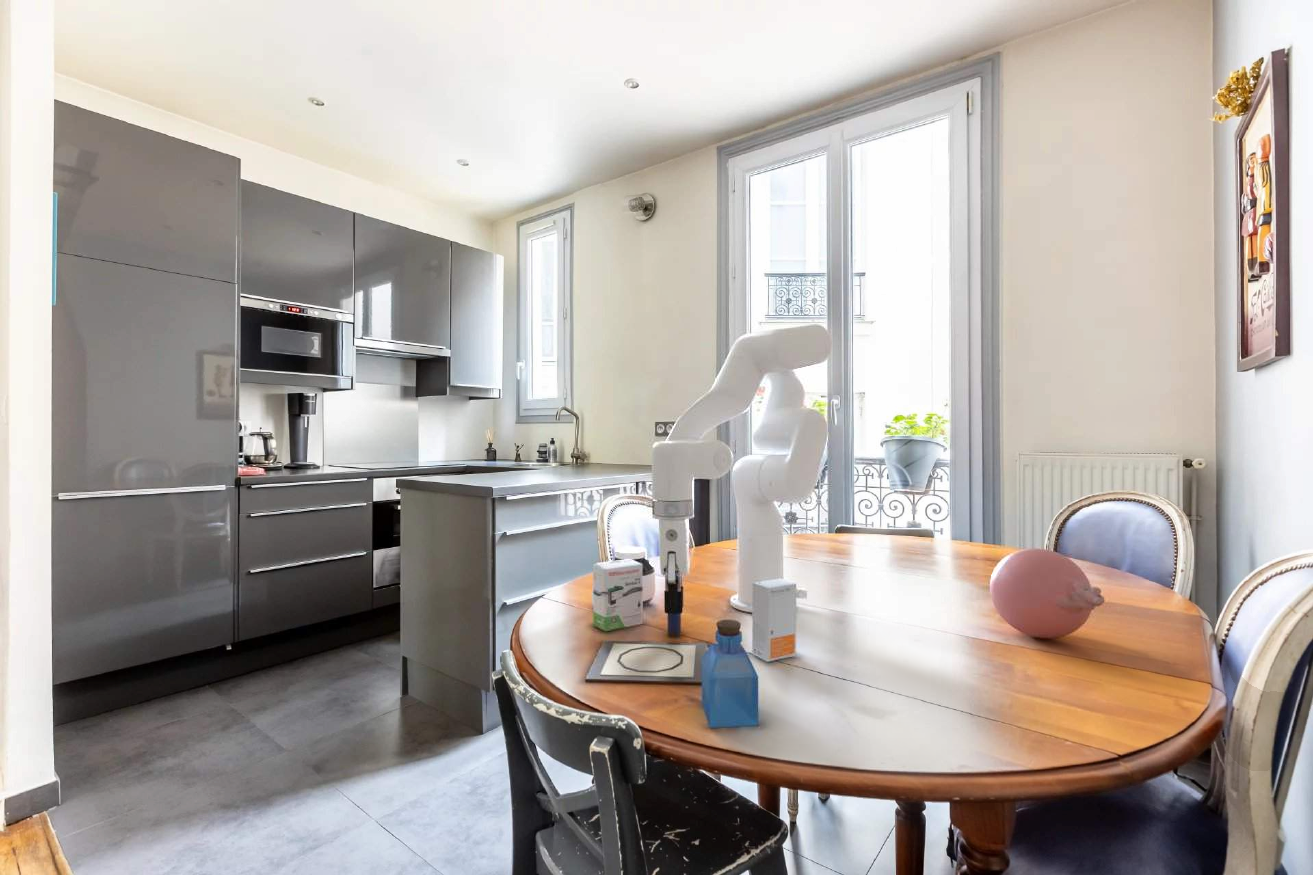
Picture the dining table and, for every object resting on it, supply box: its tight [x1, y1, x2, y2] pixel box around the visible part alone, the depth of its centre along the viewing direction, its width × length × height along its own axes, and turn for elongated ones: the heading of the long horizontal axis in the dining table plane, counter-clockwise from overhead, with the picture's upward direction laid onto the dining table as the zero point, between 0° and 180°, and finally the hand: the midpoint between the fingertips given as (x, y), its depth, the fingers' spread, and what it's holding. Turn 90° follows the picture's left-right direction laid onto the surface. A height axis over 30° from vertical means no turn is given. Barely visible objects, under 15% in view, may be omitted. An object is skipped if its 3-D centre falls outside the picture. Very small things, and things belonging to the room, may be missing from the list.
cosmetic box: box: [751, 578, 797, 663], centre depth 99 cm, size 6×4×12 cm
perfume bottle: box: [701, 619, 760, 729], centre depth 79 cm, size 6×6×12 cm
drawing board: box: [584, 640, 708, 686], centre depth 97 cm, size 18×16×1 cm
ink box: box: [592, 559, 644, 632], centre depth 115 cm, size 9×5×12 cm, turn 123°
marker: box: [667, 578, 682, 638], centre depth 109 cm, size 2×2×10 cm
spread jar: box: [590, 546, 657, 608], centre depth 127 cm, size 12×11×12 cm
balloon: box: [989, 547, 1106, 639], centre depth 105 cm, size 15×20×15 cm
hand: (674, 609), depth 110 cm, fingers closed on marker, 2 cm apart
